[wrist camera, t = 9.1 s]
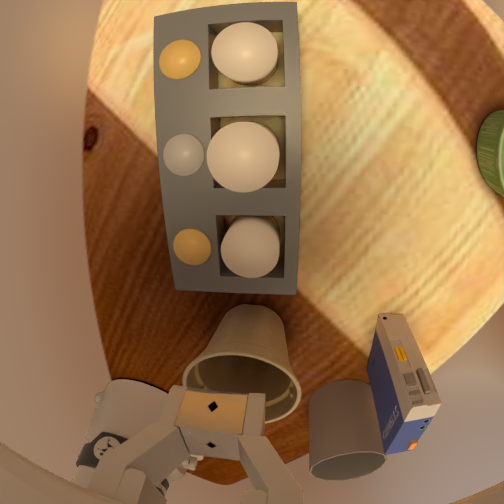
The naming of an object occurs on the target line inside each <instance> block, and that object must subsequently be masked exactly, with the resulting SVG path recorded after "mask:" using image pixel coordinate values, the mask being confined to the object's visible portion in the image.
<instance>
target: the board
mask: <svg viewBox="0 0 504 504" xmlns="http://www.w3.org/2000/svg"><path fill="white" fill-rule="evenodd" d="M242 22H250V23H255V24H258V25H261V26H263V27H264V28H266V29H267V30H268V31H269V32H283V46H284V76H285V86H270V87H238V88H222V89H218V69H217V67H216V66H215V64H214V62H213V60H212V54H211V50H212V45H213V42H214V40H215V38H216V37H217V35H218V34H219V33H220V32H221V31H222V30H223V29H225V28H226V27H228V26H230V25H233V24H236V23H242ZM154 98H155V119H156V136H157V149H158V162H159V173H160V183H161V193H162V202H163V210H164V218H165V226H166V234H167V241H168V248H169V255H170V261H171V268H172V274H173V280H174V286H175V290H186V291H204V292H225V293H250V294H283V295H296V290H297V272H298V250H299V224H300V186H301V94H300V58H299V34H298V15H297V2H258V3H241V4H229V5H219V6H211V7H203V8H197V9H190V10H185V11H179V12H174V13H169V14H164V15H160V16H155V17H154ZM246 116H285V130H286V180H270V181H269V182H268V183H267V184H266V185H265V186H263V187H262V188H260V189H258V190H255V191H252V192H244V193H243V192H235V191H231V190H229V189H227V188H225V187H223V186H222V185H220V184H219V183H218V182H217V181H216V180H215V179H214V177H213V176H212V174H211V173H210V170H209V168H208V164H207V149H208V146H209V143H210V141H211V139H212V138H213V136H214V135H215V134H216V133H217V132H218V131H219V130H220V120H219V118H223V117H246ZM224 215H259V216H285V261H278V262H277V264H276V266H275V267H274V268H273V269H272V270H271V271H270V272H269V273H267V274H266V275H264V276H261V277H257V278H246V277H242V276H239V275H237V274H235V273H233V272H232V271H231V270H230V269H229V268H228V267H227V266H226V265H225V263H224V261H223V259H222V256H221V244H222V241H223V239H224V237H225V223H224Z"/></svg>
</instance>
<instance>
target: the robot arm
mask: <svg viewBox="0 0 504 504" xmlns="http://www.w3.org/2000/svg"><path fill="white" fill-rule="evenodd" d="M95 402H96V403H97V406H96V408H95V411H94V413H93V416H92V418H91V420H90V423H89V426H88V428H87V431H86V434H85V437H86V439H87V441H88V443H87V444H85V445H84V447H83V449H82V451H81V452H80V454H79V456H78V460H77V462H76V465H77V470H76V472H75V474H74V476H73V478H72V481H71V482H70V481H67V480H66V479H63V478H61V477H59V476H57V475H55V474H54V473H52V472H50V471H48V470H46V469H44V468H42V467H41V466H39V465H37V464H35V463H34V462H32V461H30V460H28V459H27V458H25V457H23V456H22V455H20V454H18V453H17V452H15V451H14V450H12V449H11V448H9V447H8V446H6V445H5V444H3V443H2V442H0V504H166V502H167V500H166V499H165V495H166V491H167V489H168V487H169V483H170V482H173V481H175V480H177V479H179V478H182V477H184V476H185V474H186V471H187V469H190V470H195V469H196V466H197V461H198V460H202V459H203V458H204V456H208V457H216V458H223V459H231V460H240V462H241V464H242V466H243V468H244V469H245V471H246V473H247V475H248V477H249V479H250V481H251V482H252V484H253V486H254V488H255V490H248V489H247V490H246V491H244V492H243V493H242V498H241V503H240V504H303V489H302V488H301V487H300V485H299V484H298V483H297V481H296V480H295V478H294V477H293V475H292V474H291V473H290V471H289V470H288V468H287V467H286V466H285V464H284V463H283V461H282V460H281V458H280V457H279V455H278V454H277V452H276V451H275V449H274V448H273V446H272V445H271V443H270V442H269V440H268V439H267V437H265V436H264V429H265V394H264V393H249V392H232V391H219V390H218V391H213V390H206V389H198V388H192V387H185V386H178V385H173V386H172V387H171V389H170V391H169V394H167V393H166V392H164V391H162V390H160V389H158V388H155V387H153V386H150V385H148V384H145V383H142V382H138V381H133V380H126V379H118V380H113V381H111V382H110V383H108V384H107V385H106V387H105V390H104V391H103V392H101V393H98V394H97V395H96V397H95ZM451 504H504V481H503V482H501V483H499V484H497V485H495V486H492V487H490V488H488V489H486V490H483V491H481V492H479V493H476V494H474V495H472V496H469V497H467V498H464V499H461V500H459V501H456V502H453V503H451Z"/></svg>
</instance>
